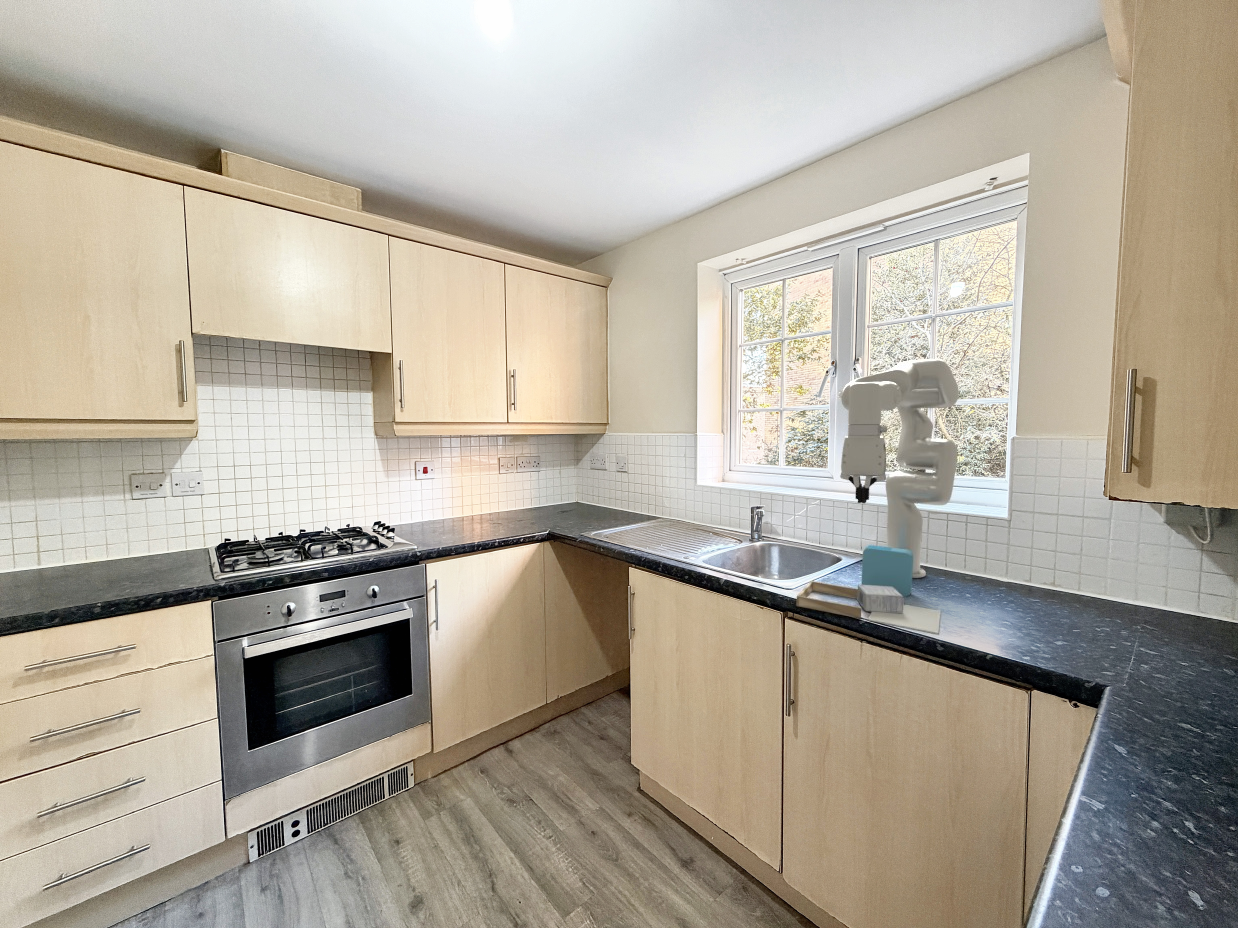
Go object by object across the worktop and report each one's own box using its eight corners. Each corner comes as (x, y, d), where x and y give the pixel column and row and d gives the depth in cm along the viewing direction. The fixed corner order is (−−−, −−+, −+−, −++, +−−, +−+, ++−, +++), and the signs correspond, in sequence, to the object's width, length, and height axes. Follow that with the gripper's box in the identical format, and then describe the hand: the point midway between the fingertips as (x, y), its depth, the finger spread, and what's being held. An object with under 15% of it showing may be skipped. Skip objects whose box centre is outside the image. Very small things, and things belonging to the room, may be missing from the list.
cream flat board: (877, 600, 135) (877, 599, 135) (940, 611, 127) (940, 610, 127) (868, 620, 121) (868, 619, 121) (938, 634, 114) (938, 632, 114)
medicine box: (864, 611, 126) (903, 614, 125) (865, 593, 126) (904, 596, 124) (856, 600, 134) (893, 603, 132) (857, 583, 134) (894, 586, 132)
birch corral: (810, 589, 143) (811, 580, 143) (869, 600, 135) (870, 590, 135) (796, 605, 131) (796, 596, 131) (860, 618, 123) (861, 608, 122)
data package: (911, 593, 141) (913, 550, 140) (910, 598, 137) (912, 553, 136) (863, 585, 148) (865, 544, 147) (861, 589, 144) (862, 547, 143)
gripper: (899, 430, 131) (896, 502, 133) (836, 430, 139) (834, 497, 141) (895, 432, 124) (892, 507, 126) (829, 432, 133) (828, 502, 135)
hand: (862, 502), depth 134 cm, fingers closed
